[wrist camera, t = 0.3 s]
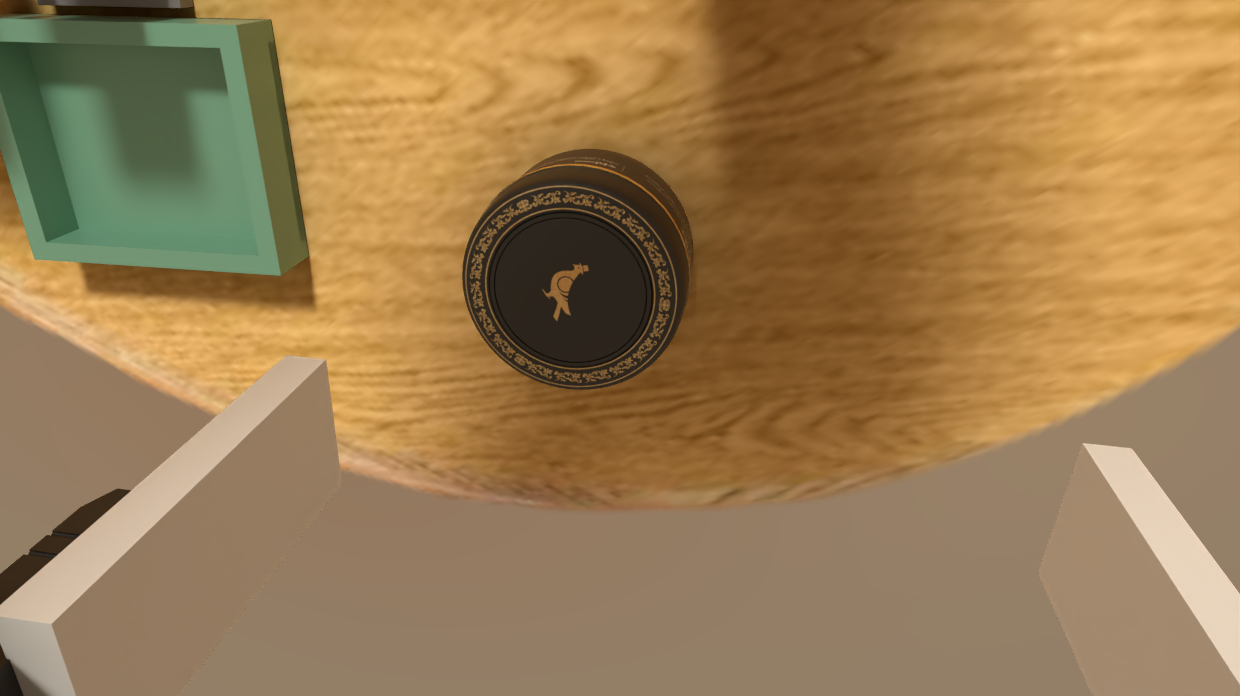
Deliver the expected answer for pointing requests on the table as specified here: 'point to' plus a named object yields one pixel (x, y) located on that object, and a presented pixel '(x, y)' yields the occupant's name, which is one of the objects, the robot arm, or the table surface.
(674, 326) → the jar
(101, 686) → the robot arm
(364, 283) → the table surface
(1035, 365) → the table surface
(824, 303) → the table surface
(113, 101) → the tray
